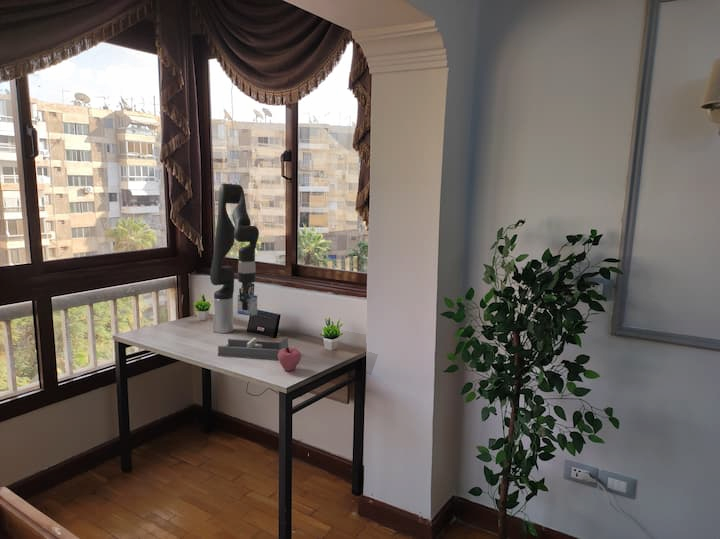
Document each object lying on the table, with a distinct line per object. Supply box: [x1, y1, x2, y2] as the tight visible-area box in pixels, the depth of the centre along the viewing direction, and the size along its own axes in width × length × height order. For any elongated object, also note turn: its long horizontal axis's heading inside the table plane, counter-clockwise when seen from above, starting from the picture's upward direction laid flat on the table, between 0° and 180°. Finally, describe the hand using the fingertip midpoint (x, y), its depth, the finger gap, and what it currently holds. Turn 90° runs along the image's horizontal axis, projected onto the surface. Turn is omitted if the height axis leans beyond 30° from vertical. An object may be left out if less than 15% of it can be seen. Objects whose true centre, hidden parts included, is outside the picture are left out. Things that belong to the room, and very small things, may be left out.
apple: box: [278, 347, 302, 372], centre depth 214 cm, size 10×9×10 cm
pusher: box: [247, 337, 262, 348], centre depth 234 cm, size 5×9×4 cm, turn 172°
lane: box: [217, 336, 289, 361], centre depth 234 cm, size 28×13×7 cm, turn 82°
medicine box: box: [236, 294, 258, 317], centre depth 235 cm, size 8×4×9 cm, turn 64°
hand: (247, 308), depth 236 cm, fingers closed on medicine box, 5 cm apart
